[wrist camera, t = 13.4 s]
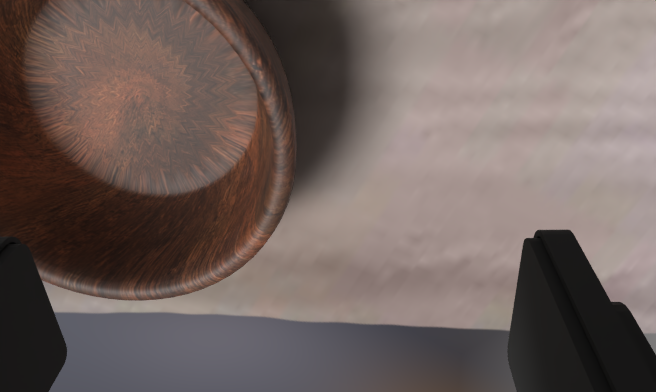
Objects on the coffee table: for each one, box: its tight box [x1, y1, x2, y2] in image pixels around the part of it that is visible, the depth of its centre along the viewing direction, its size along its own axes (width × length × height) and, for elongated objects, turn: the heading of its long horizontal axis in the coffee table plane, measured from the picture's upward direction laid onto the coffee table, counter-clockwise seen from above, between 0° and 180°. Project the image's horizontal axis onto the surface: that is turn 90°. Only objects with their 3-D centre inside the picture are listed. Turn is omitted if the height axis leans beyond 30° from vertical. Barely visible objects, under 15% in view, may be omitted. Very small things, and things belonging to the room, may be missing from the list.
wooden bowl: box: [0, 0, 297, 300], centre depth 40 cm, size 25×25×10 cm
